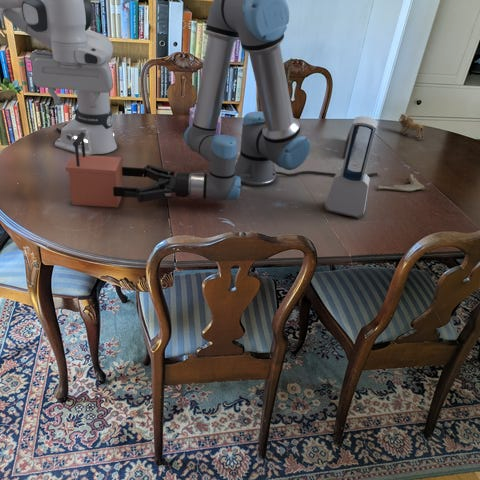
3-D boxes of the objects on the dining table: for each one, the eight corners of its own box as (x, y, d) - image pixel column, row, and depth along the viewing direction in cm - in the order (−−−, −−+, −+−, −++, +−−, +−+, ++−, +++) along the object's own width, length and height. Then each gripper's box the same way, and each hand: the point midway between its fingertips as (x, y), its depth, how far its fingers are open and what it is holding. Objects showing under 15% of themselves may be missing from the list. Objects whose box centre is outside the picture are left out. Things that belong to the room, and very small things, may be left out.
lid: (65, 171, 132) (62, 142, 128) (74, 158, 140) (71, 130, 136) (115, 174, 134) (114, 145, 129) (121, 161, 142) (120, 133, 137)
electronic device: (364, 210, 152) (388, 120, 136) (361, 221, 146) (387, 128, 130) (327, 201, 155) (346, 112, 139) (322, 211, 149) (342, 119, 133)
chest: (72, 204, 138) (68, 171, 133) (80, 190, 146) (77, 158, 140) (117, 207, 139) (115, 174, 134) (123, 193, 147) (121, 161, 142)
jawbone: (429, 189, 172) (431, 184, 171) (394, 201, 161) (396, 196, 160) (410, 177, 177) (412, 172, 176) (375, 189, 167) (376, 184, 165)
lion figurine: (393, 132, 222) (398, 113, 217) (398, 130, 225) (403, 111, 221) (423, 141, 214) (429, 122, 210) (427, 139, 218) (433, 120, 213)
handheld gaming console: (349, 160, 187) (354, 136, 182) (342, 158, 188) (347, 134, 183) (355, 142, 206) (361, 119, 201) (349, 140, 207) (354, 118, 201)
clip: (182, 123, 206) (183, 107, 202) (209, 122, 210) (210, 106, 207) (197, 140, 191) (197, 123, 187) (225, 138, 195) (226, 122, 191)
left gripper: (24, 51, 116) (32, 106, 124) (107, 58, 118) (111, 112, 125) (33, 46, 122) (40, 99, 129) (112, 53, 123) (115, 105, 131)
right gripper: (186, 216, 132) (110, 212, 131) (190, 178, 153) (125, 174, 151) (187, 193, 128) (108, 188, 127) (191, 157, 149) (124, 152, 147)
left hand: (75, 105), depth 127 cm, fingers open, 8 cm apart
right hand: (117, 180), depth 139 cm, fingers open, 13 cm apart
